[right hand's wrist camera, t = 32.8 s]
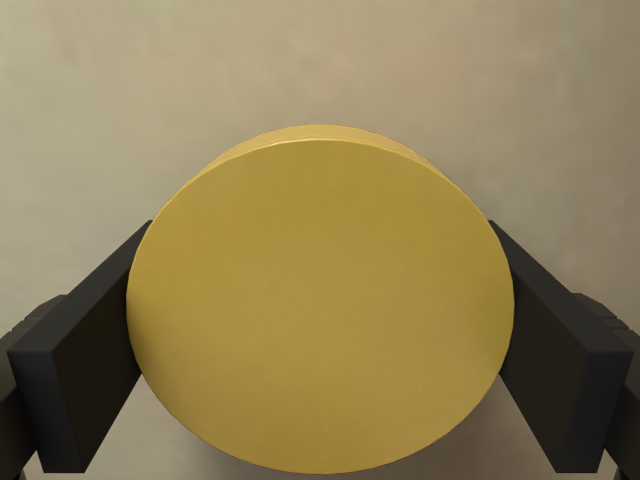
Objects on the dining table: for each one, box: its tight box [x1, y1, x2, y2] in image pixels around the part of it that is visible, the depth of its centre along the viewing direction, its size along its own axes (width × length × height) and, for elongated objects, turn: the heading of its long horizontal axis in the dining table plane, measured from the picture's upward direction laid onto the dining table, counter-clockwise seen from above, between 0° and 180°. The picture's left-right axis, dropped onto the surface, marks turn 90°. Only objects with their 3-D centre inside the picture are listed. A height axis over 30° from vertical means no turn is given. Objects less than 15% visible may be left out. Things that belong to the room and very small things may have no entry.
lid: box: [126, 124, 515, 474], centre depth 11 cm, size 9×9×2 cm
